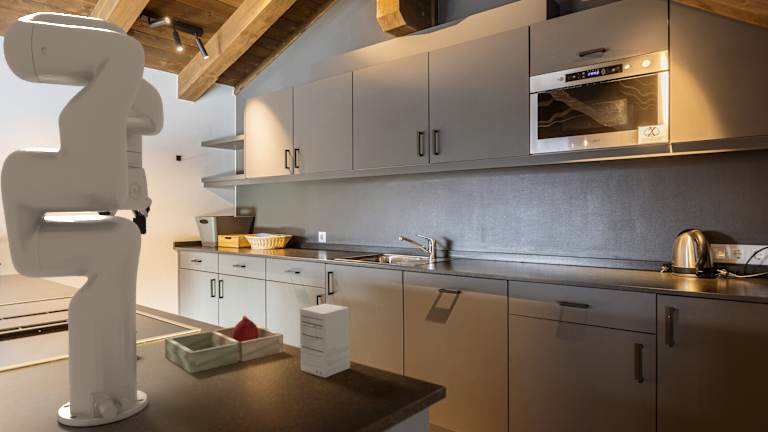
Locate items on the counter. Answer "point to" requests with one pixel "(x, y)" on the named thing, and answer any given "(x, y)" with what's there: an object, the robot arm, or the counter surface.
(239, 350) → the compartment tray
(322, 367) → the supplement box
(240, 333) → the onion
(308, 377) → the counter surface
